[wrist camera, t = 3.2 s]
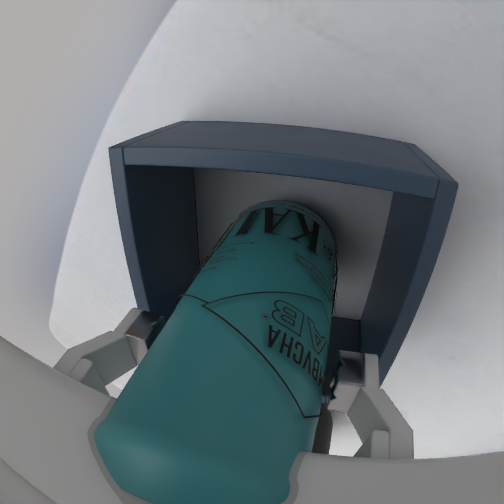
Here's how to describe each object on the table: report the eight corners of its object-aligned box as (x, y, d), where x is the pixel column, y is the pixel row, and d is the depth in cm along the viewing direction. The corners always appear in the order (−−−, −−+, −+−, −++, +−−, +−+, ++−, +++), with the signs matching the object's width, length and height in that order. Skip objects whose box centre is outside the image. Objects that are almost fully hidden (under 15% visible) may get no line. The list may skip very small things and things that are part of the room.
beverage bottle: (295, 294, 22) (199, 605, 5) (217, 237, 21) (25, 533, 4) (361, 233, 18) (327, 652, 2) (274, 162, 17) (1, 587, 1)
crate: (180, 121, 17) (107, 147, 12) (415, 144, 15) (459, 183, 9) (193, 299, 24) (153, 364, 19) (367, 329, 22) (368, 408, 16)
